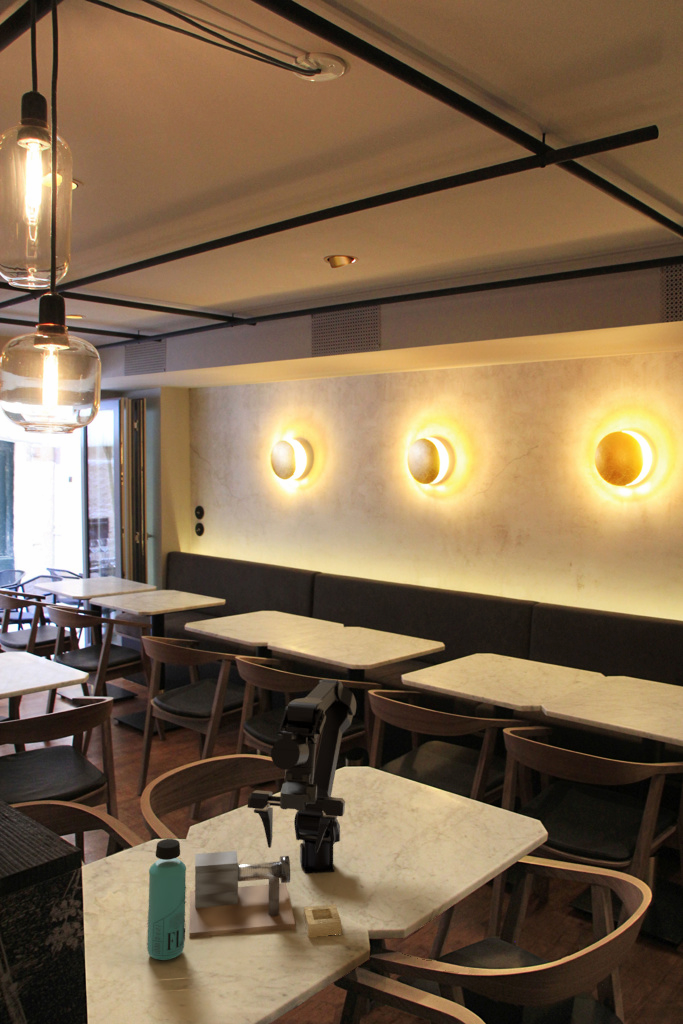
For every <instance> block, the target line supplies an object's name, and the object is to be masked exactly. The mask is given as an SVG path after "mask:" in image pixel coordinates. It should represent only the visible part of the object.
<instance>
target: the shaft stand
mask: <svg viewBox="0 0 683 1024" xmlns="http://www.w3.org/2000/svg"><path fill="white" fill-rule="evenodd" d="M194 855H195V858H194V864H195V865H194V868H195V870H194V876H195V877H194V880H195V881H194V883H195V884H194V887H195V888H194V889H195V890H189V925H188V926H189V930H188V931H189V932H188V934H189V936H188V937H189V938H202V937H203V938H205V937H212V936H220V935H221V936H222V935H233V934H249V933H263V931H266V932H277V931H280V932H281V931H294V930H296V923H295V916H294V911H293V909H292V904H291V899H290V894H289V890H288V885H287V883H281V882H280V878H278V877H271V878H269V879H268V884H260V885H259V884H258V885H257V884H256V885H248V886H246V885H245V886H239V882H238V865H239V861H238V853H237V850H231V851H230V850H227V851H217V852H216V851H215V852H204V853H203V852H202V853H195V854H194Z"/></svg>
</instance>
